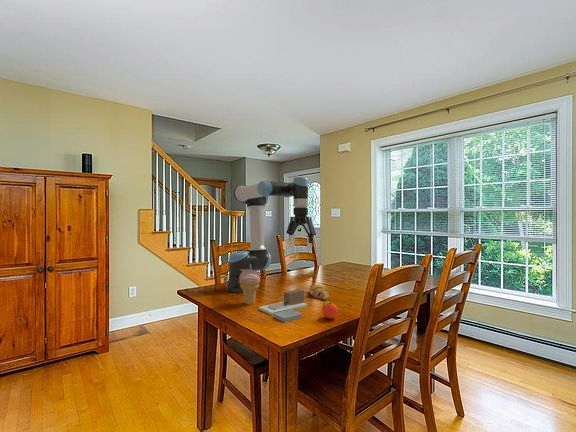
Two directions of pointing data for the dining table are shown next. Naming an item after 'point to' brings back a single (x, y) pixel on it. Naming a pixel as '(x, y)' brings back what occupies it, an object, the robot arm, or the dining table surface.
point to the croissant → (319, 292)
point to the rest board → (272, 311)
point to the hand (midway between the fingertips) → (300, 248)
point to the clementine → (329, 310)
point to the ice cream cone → (249, 284)
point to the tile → (287, 315)
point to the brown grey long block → (289, 299)
